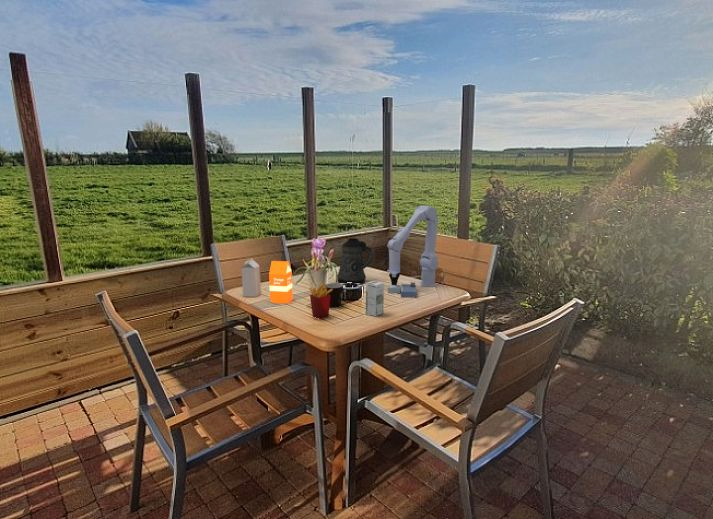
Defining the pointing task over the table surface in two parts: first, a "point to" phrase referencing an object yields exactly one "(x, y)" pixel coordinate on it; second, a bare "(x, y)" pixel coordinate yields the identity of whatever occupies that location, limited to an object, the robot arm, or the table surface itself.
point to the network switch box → (408, 290)
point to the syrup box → (374, 298)
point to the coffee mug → (335, 294)
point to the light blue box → (393, 288)
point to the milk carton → (251, 279)
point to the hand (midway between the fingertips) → (394, 287)
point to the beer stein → (353, 261)
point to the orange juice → (280, 282)
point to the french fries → (320, 301)
